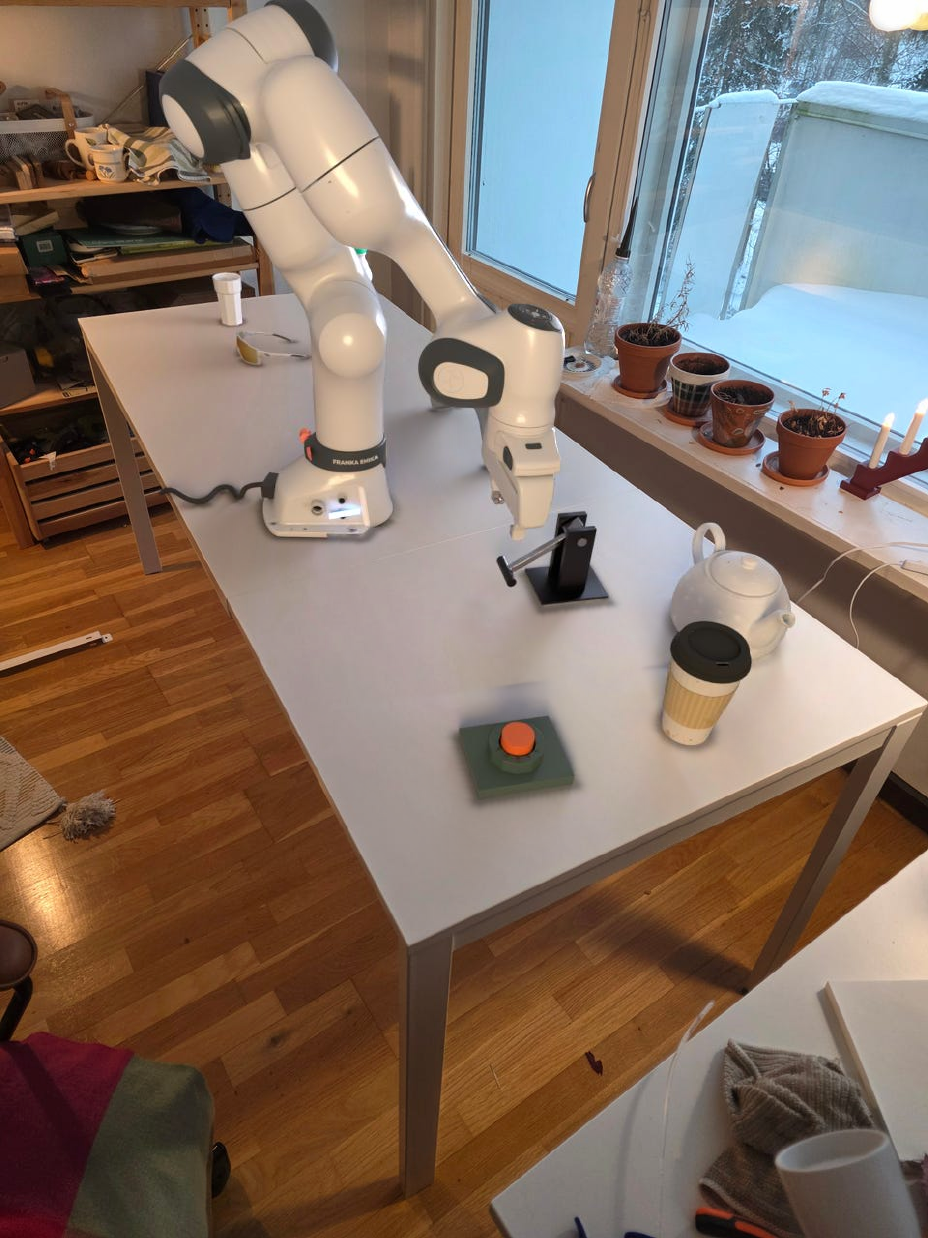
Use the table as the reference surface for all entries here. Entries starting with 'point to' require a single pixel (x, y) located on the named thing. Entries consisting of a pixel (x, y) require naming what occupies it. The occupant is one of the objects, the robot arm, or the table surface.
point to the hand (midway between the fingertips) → (506, 519)
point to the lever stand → (569, 566)
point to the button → (517, 739)
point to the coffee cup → (702, 679)
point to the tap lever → (532, 555)
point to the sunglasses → (253, 354)
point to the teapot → (733, 594)
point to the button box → (514, 760)
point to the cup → (229, 297)
